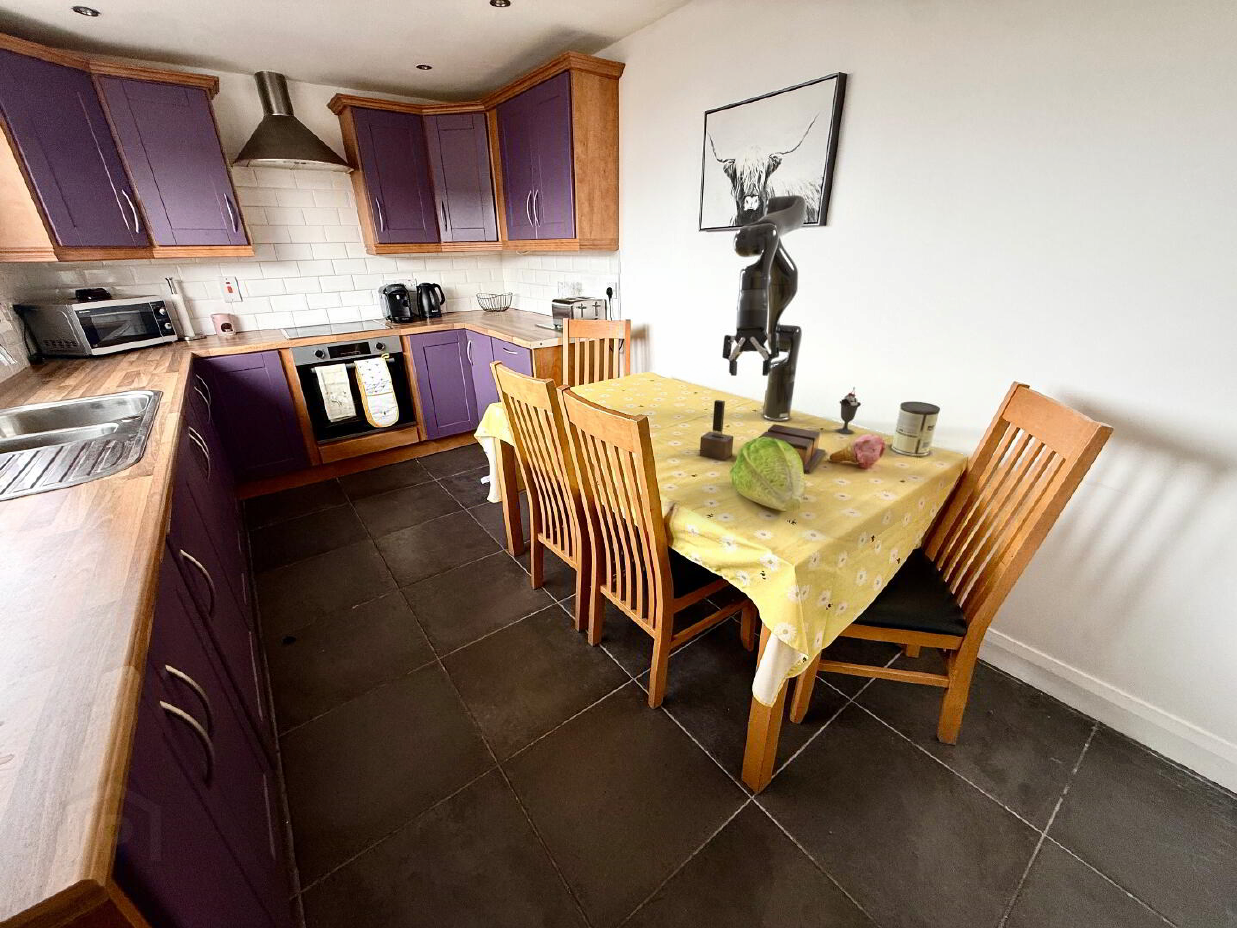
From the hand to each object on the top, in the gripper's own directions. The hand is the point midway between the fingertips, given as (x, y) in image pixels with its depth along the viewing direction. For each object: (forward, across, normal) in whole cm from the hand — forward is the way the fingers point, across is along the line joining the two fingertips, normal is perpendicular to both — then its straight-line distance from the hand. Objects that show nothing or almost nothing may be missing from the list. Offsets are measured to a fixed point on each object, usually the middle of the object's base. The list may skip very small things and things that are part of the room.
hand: (749, 375), depth 128 cm
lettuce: (+31, -9, +5) cm, 32 cm away
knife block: (+24, +15, -14) cm, 31 cm away
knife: (+24, +15, -14) cm, 31 cm away
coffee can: (+22, -31, -52) cm, 65 cm away
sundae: (+18, -11, -58) cm, 62 cm away
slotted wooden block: (+24, -3, -25) cm, 35 cm away
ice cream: (+26, -21, -30) cm, 45 cm away
